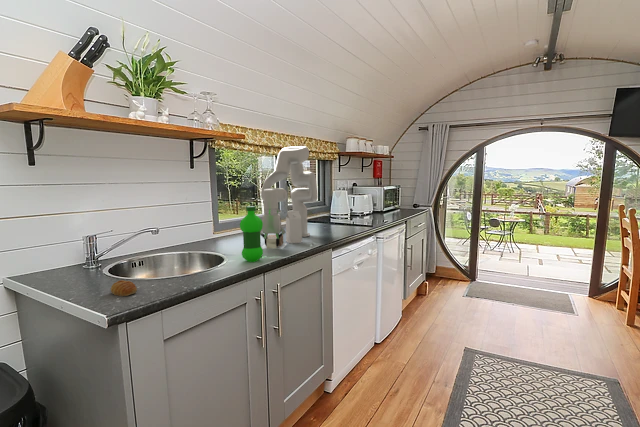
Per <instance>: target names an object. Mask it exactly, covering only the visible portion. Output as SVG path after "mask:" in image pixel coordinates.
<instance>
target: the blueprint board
mask: <svg viewBox="0 0 640 427" xmlns="http://www.w3.org/2000/svg"><path fill="white" fill-rule="evenodd" d="M288 244H289V243H288V242H287V243H286V242H283V244H282V245H281V246H278V247H277V248H267V246H266V245H265V243H264V244H262V245H261V247H262V249H263V250H278V249H279V250H284V249H285V247H286V246H287V245H288Z"/></svg>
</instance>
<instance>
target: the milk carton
mask: <svg viewBox="0 0 640 427" xmlns="http://www.w3.org/2000/svg"><path fill="white" fill-rule="evenodd" d="M286 212H287V213H286V216H285V241H286V242H287V243H288V244H298V243H303V237H302V225H301V216H300V214H299V211H293V210H291V211H286ZM286 242H285V243H286Z"/></svg>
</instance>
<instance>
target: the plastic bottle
mask: <svg viewBox="0 0 640 427" xmlns="http://www.w3.org/2000/svg"><path fill="white" fill-rule="evenodd" d="M256 209H257V208H256V206H255V205H254V206H252V205H251V206H245V210H246V211H247V214H246V215H245V216H244V217H243V218H242V219H241V220H240V223H239V228H240V230H241V232H242V238H243V248H242V250H241V256H242V258H243V259H244V260H245V261H247V262H250V263H254V262H258V261H259V260H260V259H262V257H263V255H264V249H262V243H261V235H260V231H261V230H262V226H263V222H262V219H261V218H260V217H259V216H258V215H257V214H255V211H256Z"/></svg>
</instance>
